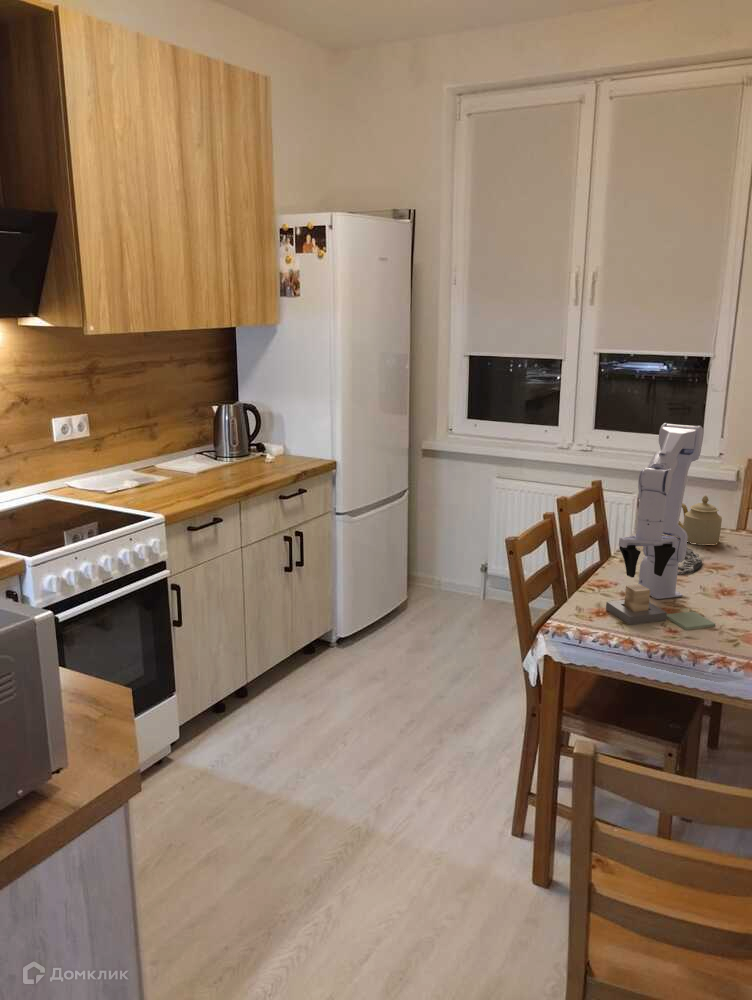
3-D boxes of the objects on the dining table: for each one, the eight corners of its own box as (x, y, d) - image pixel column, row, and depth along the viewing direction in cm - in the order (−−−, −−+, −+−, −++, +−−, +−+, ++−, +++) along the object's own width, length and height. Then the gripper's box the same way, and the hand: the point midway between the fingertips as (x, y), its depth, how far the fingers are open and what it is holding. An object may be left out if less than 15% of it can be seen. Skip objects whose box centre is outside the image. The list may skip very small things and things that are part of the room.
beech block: (623, 612, 189) (625, 585, 188) (637, 611, 190) (640, 584, 189) (633, 619, 186) (635, 591, 184) (647, 617, 187) (650, 589, 185)
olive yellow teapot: (667, 541, 247) (672, 495, 243) (670, 532, 256) (675, 488, 253) (718, 547, 241) (724, 500, 237) (719, 538, 250) (724, 493, 247)
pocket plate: (605, 609, 191) (606, 601, 191) (641, 605, 194) (641, 597, 193) (629, 624, 182) (630, 617, 181) (666, 620, 185) (666, 612, 184)
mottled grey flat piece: (670, 542, 243) (704, 545, 239) (669, 547, 243) (704, 549, 239) (661, 570, 218) (700, 573, 214) (661, 576, 218) (700, 579, 214)
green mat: (664, 616, 187) (664, 614, 187) (692, 613, 189) (692, 611, 189) (686, 629, 179) (686, 627, 179) (715, 626, 182) (715, 623, 181)
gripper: (634, 523, 175) (627, 581, 177) (688, 522, 179) (681, 579, 182) (616, 517, 182) (610, 573, 184) (668, 516, 186) (662, 570, 188)
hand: (644, 575), depth 183 cm, fingers open, 7 cm apart
